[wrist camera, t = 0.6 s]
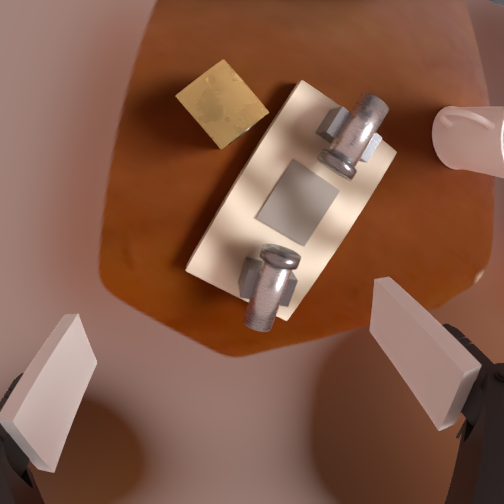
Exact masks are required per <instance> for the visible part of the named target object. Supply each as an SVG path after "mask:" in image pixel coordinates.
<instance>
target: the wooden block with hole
mask: <svg viewBox="0 0 504 504" xmlns="http://www.w3.org/2000/svg"><path fill="white" fill-rule="evenodd" d="M176 98H177V99H178V100H179V101H180V102H181V104H182V105H183V106H184V107H185V108H186V110H187V111H188V112H189V113H190V114H191V115H192V116H193V118H194V119H195V120H196V121H197V122H198V123H199V125H200V126H201V127H202V128H203V129H204V130H205V132H206V133H207V134H208V135H209V136H210V137H211V139H212V140H213V141H214V142H215V143H216V145H217V146H218V147H219V148H220V149H221V150H222V149H223V148H224V147H225V146H227V145H229V144H231V143H232V142H234V141H235V140H236V139H237V138H239V137H240V136H241V135H243V134H244V133H245V132H246V131H248V130H249V129H250V128H252V127H253V126H254V125H255V124H257V123H258V122H257V121H259V120H260V119H261V118H263V117H264V116H265V115H267V114H268V113H269V112H268V110H267V109H266V108H265V107H264V105H263V104H262V103H261V102H260V101H259V99H258V98H257V97H256V96H255V95H254V93H253V92H252V91H251V90H250V89H249V88H248V86H247V85H246V84H245V83H244V82H243V81H242V79H241V78H240V77H239V76H238V75H237V74H236V73H235V71H234V70H233V69H232V68H231V67H230V66H229V65H228V63H227V62H226V61H225V60H224V59H223V60H222V61H220V62H219V63H217V64H216V65H215V66H213V67H212V68H211V69H209V70H208V71H206V72H205V73H204V74H202V75H201V76H200V77H199V78H197V79H196V80H195V81H193V82H192V83H191V84H189V85H188V86H187V87H186V88H184V89H183V90H182V91H181V92H179V93H178V94H177V95H176Z"/></svg>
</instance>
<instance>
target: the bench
mask: <svg viewBox="0 0 504 504" xmlns="http://www.w3.org/2000/svg"><path fill="white" fill-rule="evenodd" d="M338 107H340V106H339V105H338V104H336V103H335V102H333V101H332V100H331V99H329V98H328V97H326V96H325V95H324V94H322V93H321V92H319V91H318V90H316V89H315V88H313V87H312V86H310V85H309V84H307V83H306V82H304V81H303V80H301V81H300V82H298V83H297V84H296V86H295V87H294V89H293V90H292V92H291V93H290V95H289V96H288V98H287V99H286V101H285V102H284V104H283V105H282V107H281V109H280V110H279V112H278V113H277V115H276V116H275V118H274V119H273V121H272V122H271V124H270V126H269V127H268V129H267V130H266V132H265V133H264V135H263V137H262V138H261V140H260V141H259V143H258V145H257V146H256V148H255V149H254V151H253V153H252V154H251V156H250V157H249V159H248V161H247V162H246V164H245V166H244V167H243V169H242V170H241V172H240V174H239V175H238V177H237V179H236V180H235V182H234V184H233V185H232V187H231V189H230V190H229V192H228V194H227V195H226V197H225V199H224V200H223V202H222V204H221V205H220V207H219V209H218V210H217V212H216V214H215V216H214V217H213V219H212V221H211V222H210V224H209V226H208V228H207V229H206V231H205V233H204V235H203V236H202V238H201V240H200V242H199V243H198V245H197V247H196V249H195V250H194V252H193V254H192V256H191V257H190V259H189V261H188V263H187V266H186V270H185V271H187V272H189V273H191V274H192V275H194V276H196V277H198V278H200V279H202V280H204V281H206V282H208V283H210V284H212V285H214V286H216V287H218V288H220V289H222V290H224V291H226V292H228V293H230V294H232V295H234V296H236V297H238V298H240V299H242V300H244V301H246V302H248V303H249V300H250V299H246V298H241V297H240V292H239V287H238V280H239V277H240V274H241V270H242V267H243V264H244V260H245V257H248V258H252V259H257V260H261V261H262V259H261V258H260V256H259V255H260V252H261V249H262V246H263V244H266V243H270V244H276V245H280V246H283V247H286V248H289V249H291V250H293V251H295V252H297V253H298V254H299V255H300V256H301V260H300V263H299V266H298V268H297V269H295V270H292V272H293V273H294V275H295V277H296V278H297V280H298V282H297V285H296V287H295V290H294V293H293V295H292V298H291V301H290V303H289V306H288V307H285V306H279V309H278V312H277V314H276V316H277V317H280V318H282V319H284V320H286V321H287V320H288V319H289V317H290V316H291V314H292V313H293V312H294V310H295V309H296V308H297V306H298V305H299V303H300V302H301V301H302V299H303V298H304V296H305V295H306V293H307V292H308V291H309V289H310V288H311V286H312V285H313V283H314V282H315V280H316V279H317V278H318V276H319V275H320V273H321V272H322V270H323V269H324V267H325V266H326V264H327V263H328V261H329V260H330V258H331V257H332V255H333V254H334V252H335V251H336V249H337V248H338V246H339V245H340V243H341V242H342V240H343V239H344V237H345V236H346V234H347V233H348V231H349V230H350V228H351V227H352V225H353V223H354V222H355V220H356V219H357V217H358V216H359V214H360V212H361V211H362V209H363V208H364V206H365V204H366V203H367V201H368V200H369V198H370V196H371V195H372V193H373V192H374V190H375V188H376V187H377V185H378V183H379V182H380V180H381V178H382V177H383V175H384V173H385V172H386V170H387V168H388V167H389V165H390V163H391V162H392V160H393V158H394V157H395V155H396V153H397V152H396V151H395V150H394V149H393V148H392V147H390V146H389V145H388V144H387V143H386V142H385V141H383V140H381V141H380V143H379V145H378V146H377V148H376V150H375V151H374V153H373V155H372V156H371V158H370V160H369V161H368V163H366V162H360V161H358V163H357V165H356V166H355V169H356V170H357V173H356V175H355V176H354V178H353V179H352V181H349V180H346V179H344V178H342V177H341V176H339V175H337V174H336V173H334V172H332V171H331V170H329V169H328V168H327V167H325V166H324V165H322V164H321V163H320V162H319V161H318V160H317V159H316V158H317V157H318V155H319V154H320V152H321V150H322V149H325V150H327V149H328V147H329V146H330V143H328V142H327V141H326V140H324V139H323V138H321V137H320V136H318V135H317V134H316V133H315V132H316V130H317V129H318V127H319V126H320V124H321V122H322V121H323V119H324V118H325V116H326V115H327V113H328V111H329V110H330V109H334V108H338Z"/></svg>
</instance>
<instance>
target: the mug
mask: <svg viewBox="0 0 504 504" xmlns="http://www.w3.org/2000/svg"><path fill="white" fill-rule="evenodd" d="M432 141H433V146H434V149H435V152H436V154H437V156H438V157H439V159H440V160H441V162H442V163H443V164H444V165H446V166H447V167H449V168H451V169H465V170H470V171H475V172H479V173H484V174H488V175H493V176H497V177H502V178H504V107H456V106H447V107H445V108H443V109H441V110H440V111H439V112H438V114H437V115H436V117H435V119H434V122H433V126H432Z"/></svg>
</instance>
